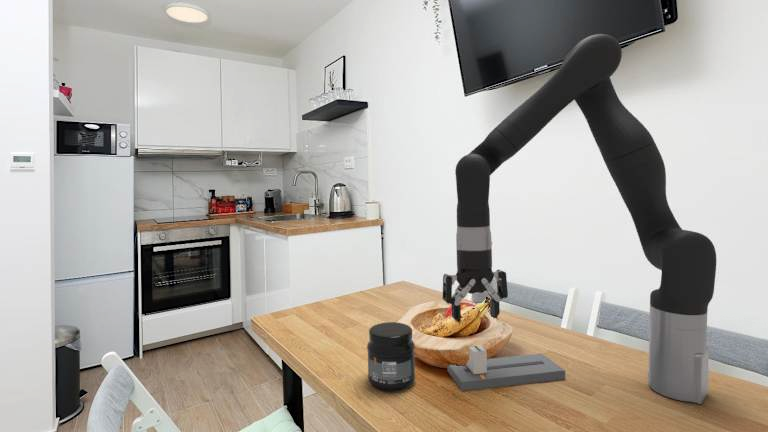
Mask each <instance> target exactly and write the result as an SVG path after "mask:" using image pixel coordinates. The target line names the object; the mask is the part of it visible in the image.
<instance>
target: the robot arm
mask: <svg viewBox="0 0 768 432" xmlns="http://www.w3.org/2000/svg"><path fill="white" fill-rule="evenodd" d="M622 54H623V51H622V47H621V44H620V43H619V41H618V40H617V39H616V38H615V37H613V36H612V35H609V34H605V33H598V34H597V33H596V34H592V35H589V36H587V37H585V38H583V39H582V40H580V41H579V42H578V43H576V44H575V46H574V47H573V48H572V49H571V50H570V51H569V52H568V53H567V55H566V56H565V58H564V59H563V60H562V63H561V66H560V68H559V69H558V70H557V71H556V72H555V73H554V74H553V75H552V76H551V77H550V78H549V79H548V80H547V81H546V82H545V83H544V84H543V85H541V87H540V88H539V89H538V90H537V91H536V92H534V93H533V94H532V95H531V96H530V97H528V98H527V99H526V100H525V101H523V103H521V104H520V105H519V106H517V108H515V110H513V111H512V112H511V113H509V114H508V115H507V116H506V117H505V118H504V119H503V120H502V121H501V122H500V123H499V124H498V125H497V126H495V127H494V128H493V129H492V130H491V131H490V132H489V134H487V135H486V137H485V138H484V140H483V141H482V142H481V143H479V144H478V145H477V146H476V147H475V148H474V149H472V150H471V151H470V152H469V153H468V154H466V155H464V156H462V157H461V158H460V159H459V160H458V161H457V164H456V166H455V182H456V195H457V197H456V198H457V204H456V226H457V227H456V236H455V239H456V242H455V243H456V246H455V247H456V269H457V270H456V274H448V273H444V274H443V275H442V300H443V301H444V302H445V303H446V304H448V305H449V304H450V305H451V317H452V319H454V321H455V322H457V323H461V322H462V319H461V318H462V313H461V311H462V310H461V305H460V304H461V302H462V300H463V299H464V298H466V297H467V295H468V294H471V295H472V294H473V293H476V292H479V293H484V291H485V292H486V293H487V294H488V295H489V296H490V297H491V300H490V315H491V317H493V319H497V318H498V316H499V315H500V314H501V313H500V311H501V310H500V302H501V300H503V299H507V298H508V296H509V295H508V293H509V292H508V282H507V281H508V280H507V272H506V271H503V270H501V269H496V271H493V268H492V267H493V254H492V253H493V249H492V247H493V246H492V245H493V241H492V232H491V221H490V220H491V218H490V214H491V213H490V204H489V203H490V201H489V200H490V186H491V185H490V182H491V181H490V180H491V175H492V174H493V173H494V172H495V171H496V170H497V169H499V167H501V165H503V164H504V163H505V162H506V161H508V160H510V159H511V158H513V157H514V156H515V155H517V153H519V151H521V150H522V149H523V148H524V147H525V146H526V145H528V143H529V142H531V141H532V140H533V139H534V138H535V137H536V136H537V135H538V134H539V133H540V132H541V131H542V130H543V129H544V128H545V127H546V126H547V125H548V124H549V123H550V122H551V121H552V120H553V119H554V118H555V117H556V116H557V115H559V113H561V112H562V110H564V109H565V108H566V107H567V106H568V105H570V104H571V103H573V101H575V103H576V104H577V106H578V107H579V110H580V111H581V112H582V115H583V116H584V119H585V121H586V122H587V124H588V127H589V129H590V132H591V135H592V136H593V139H594V141H595V143H596V146H597V148H598V150H599V152H600V154H601V157H602V159H603V161H604V164H605V165H606V168H607V170H608V172H609V174H610V176H611V178H612V180H613V182H614V184H615V186H616V188H617V190H618V192H619V194H620V196H621V198H622V201H623V203H624V204H625V206H626V208H627V209H628V211H629V214H630V216H631V219H632V222H633V224H634V226H635V227H634V228H635V230H636V233H637V236H638V239H639V242H640V245H641V248H642V252H643V254H644V256H645V257H646V259H647V260H646V261H648V263H650V265H652V266H653V267H654V268H656V269H658V270H660V271H661V276H660V285H659V287H658V288H657V289H654V290H652V291H651V292H650V293H649V324H648V325H649V329H648V330H649V333H648V334H649V336H648V337H649V338H648V373H647V376H648V377H647V378H648V379H647V380H648V381H647V382H648V383H647V384H648V387H650V388H651V390H653V392H656V393H658V394H659V395H660V396H661V395H662V396H664V397H666V398H669V399H673V400H677V401H682V402H687V403H689V402H690V403H695V404H699V405H701V404H702V403H703V402H704V400H705V398H706V397H707V395H708V392H709V391H708V390H709V361H710V357H709V356H710V348H709V347H708V346H707V341H708V340H707V337H708V336H707V335H708V334H707V333H708V332H707V330H708V311H709V310H708V307H709V304H710V303H711V301H712V299H713V296H714V293H715V286H716V285H715V284H716V283H715V281H716V274H717V252H716V248H715V244H713V242H712V240H710V238H709V237H708V236H706V235H704V234H702V233H701V232H697V231H693V230H688V229H682V227H681V226H680V225H679V222H678V221H677V219H676V218H675V216H674V213H673V212H672V210H671V208H670V205H669V202H668V199H667V174H666V167H665V163H664V159H663V157H662V154H661V153H660V150H659V148H658V146H657V143H656V142H655V139H654V138H653V135H651V133H650V132H649V131H650V130H648V129H647V128H646V127H645V125H644V124H643V123H642V122H641V121H640V120H639V119H638V118H637V117H636V116H634V115H633V114H632V112H630V111H629V110H628V109H627V107H625V105H624V104H623V102H622V101H621V99H620V98H619V96H618V94H617V93H616V89H615V88H614V85H613V82H612V79H611V76H613V74H615V72H616V71H617V70H618V68H619V66H620V63H621V62H622V61H621V60H622ZM456 281H457V283H458V286H456V288H455V290H454V293H452V292H453V291H452V290H453V285H455V282H456ZM491 281H496V289H497V292H496V290H495V288H494V286H493V287H492V286H491V285H490V283H491ZM452 294H453V295H452Z"/></svg>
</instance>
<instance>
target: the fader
mask: <svg viewBox="0 0 768 432" xmlns="http://www.w3.org/2000/svg"><path fill="white" fill-rule="evenodd" d="M469 352H470V355H469V360H468V362H467V364H466V366H467V367H468V368H469V369H470V370H471V372H472V373H473V374H481V373H487V359H488V357H487V356H488V355H487V354H488V353H487V349H486V348H485V347H484V346H482V345H481V346H473V347H469Z"/></svg>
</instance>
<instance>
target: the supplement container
mask: <svg viewBox="0 0 768 432" xmlns="http://www.w3.org/2000/svg"><path fill="white" fill-rule="evenodd" d="M368 339H369V341H368V342H367V344H366V345H367V346H366V350H367V370H368V375H367V378H368V379H367V380H368V383H369V384H370V385H371V387H372V388H374V389H376V390H377V391H381V392H384V393H399V392H402V391H405V390H407V389H409V388H410V387H412V385H413V384H414V383H415V381H416V380H415V379H416V372H415V368H416V367H415V365H416V364H415V349H416V345H415V342H414V340H413V328H412V327H411V326H410V325H408V324H406V323H403V322H396V321H395V322H394V321H389V322H381V323H377V324H374V325H373V326H371V327H370V328H369V330H368Z"/></svg>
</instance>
